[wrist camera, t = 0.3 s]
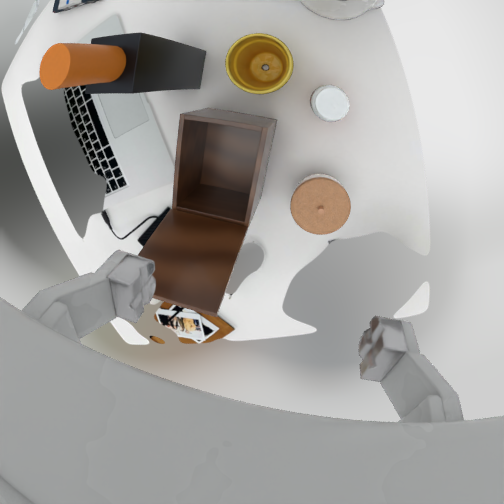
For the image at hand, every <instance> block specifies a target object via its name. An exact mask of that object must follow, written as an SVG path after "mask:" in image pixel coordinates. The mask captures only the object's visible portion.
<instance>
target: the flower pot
mask: <svg viewBox="0 0 504 504" xmlns="http://www.w3.org/2000/svg"><path fill="white" fill-rule="evenodd" d="M265 64H266V65H268V66H269V69H268V70H266V71H265V70H263V69H262V66H263V65H265ZM225 66H226V71H227V74H228V76H229V78H230V80H231V81H232V82H233V83H234V84H235V85H236V86H237V87H238V88H240V89H242V90H244V91H246V92H249V93H253V94H266V93H271V92H274V91H276V90H278V89H280V88H281V87H283V86H284V85H285V84H286V83H287V82H288V80H289V79H290V77H291V75H292V71H293V58H292V55H291V53H290V51H289V49H288V48H287V46H286V45H285V44H284V43H283V42H282V41H280V40H279V39H277V38H276V37H273V36H271V35H268V34H262V33H256V34H250V35H246V36H244V37H242V38H240V39H239V40H237V41H236V42H235V43H234V44H233V45H232V46H231V48H230V49H229V51H228V53H227V56H226V61H225Z"/></svg>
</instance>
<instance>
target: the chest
mask: <svg viewBox="0 0 504 504" xmlns="http://www.w3.org/2000/svg"><path fill="white" fill-rule="evenodd" d="M276 122H277V120H275V119H270V118H265V117H260V116H255V115H250V114H244V113H238V112H232V111H226V110H219V109H212V108H205V109H201V110H196V111H191V112H187V113H183V114H180V121H179V130H178V139H177V149H176V160H175V173H174V186H173V203H172V209H173V210H177V211H182V212H186V213H190V214H195V215H199V216H203V217H208V218H212V219H216V220H220V221H225V222H229V223H233V224H237V225H241V226H245V227H249V225H250V222H251V220H252V218H253V215H254V213H255V210H256V208H257V206H258V203H259V201H260V199H261V194H262V189H263V185H264V180H265V175H266V170H267V165H268V161H269V156H270V151H271V146H272V142H273V137H274V132H275V127H276Z"/></svg>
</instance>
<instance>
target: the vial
mask: <svg viewBox="0 0 504 504" xmlns="http://www.w3.org/2000/svg"><path fill="white" fill-rule="evenodd" d="M125 65H126V55H125V53H124V51H123V50H122V49H121V48H120V47H118V46H111V45H98V44H76V43H58V44H55V45H53V46H52V47H50V48H49V49H48V50H47V52H46V53H45V55H44V56H43V59H42V61H41V65H40V79H41V83H42V84H43V86H44V87H45V88H47V89H49V90H54V89H59V88H65V87H72V86H79V85H87V84H96V83H106V82H112V81H114V80H116V79H117V78H118V77H119V76H120V75H121V74H122V73H123V71H124V68H125Z"/></svg>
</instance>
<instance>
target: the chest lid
mask: <svg viewBox="0 0 504 504" xmlns="http://www.w3.org/2000/svg"><path fill="white" fill-rule="evenodd" d="M247 230H248V227H245V226H241V225H237V224H233V223H229V222H225V221H220V220H216V219H212V218H208V217H203V216H199V215H195V214H190V213H186V212H182V211H177V210H173V209H171V210H170V211H169V212H168V214H167V215H166V216H165V218H164V219H163V220H162V222H161V223H160V224H159V226H158V227H157V229H156V230H155V231H154V233H153V234H152V236H151V237H150V238H149V240H148V241H147V243H146V244H145V246H144V247H143V249H142V250H141V251H140V253H139V254H138V256H140V257H144V258H147V259H150V260H153V261H154V262H155V271H154V272H153V274H152V275H153V276H154V278H155V279H156V287H155V292H154V295H153V298H155V299H158V300H161V301H164V302H167V303H170V304H174V305H177V306H180V307H184V308H187V309H190V310H194V311H197V312H201V313H204V314H208V315H211V316H215V317H217V315H218V312H219V309H220V306H221V303H222V300H223V298H224V295H225V292H226V289H227V286H228V283H229V280H230V278H231V275H232V272H233V269H234V266H235V264H236V261H237V258H238V255H239V253H240V250H241V247H242V244H243V242H244V239H245V236H246V233H247Z"/></svg>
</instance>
